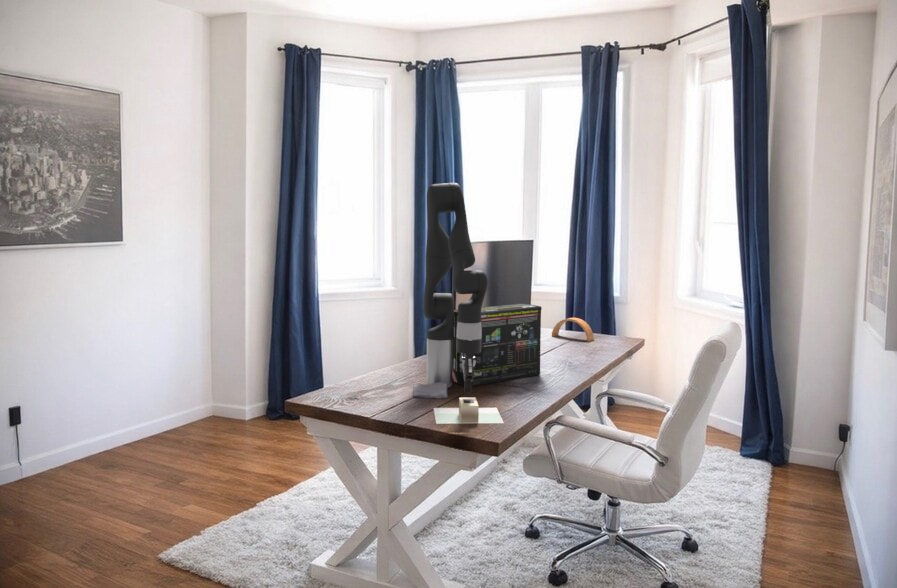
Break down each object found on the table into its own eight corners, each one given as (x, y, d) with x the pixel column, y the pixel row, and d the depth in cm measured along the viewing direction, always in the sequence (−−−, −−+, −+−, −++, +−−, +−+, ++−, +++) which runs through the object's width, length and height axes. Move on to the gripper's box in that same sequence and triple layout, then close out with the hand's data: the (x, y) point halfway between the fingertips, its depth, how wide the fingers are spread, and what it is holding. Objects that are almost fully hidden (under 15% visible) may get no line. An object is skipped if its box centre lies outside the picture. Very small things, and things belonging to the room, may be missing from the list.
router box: (522, 369, 281) (524, 302, 278) (541, 375, 272) (544, 306, 269) (448, 381, 261) (449, 309, 257) (466, 388, 252) (467, 313, 248)
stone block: (448, 405, 236) (447, 391, 246) (448, 392, 235) (447, 379, 244) (412, 406, 236) (412, 393, 245) (412, 393, 234) (412, 380, 244)
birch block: (459, 397, 218) (461, 405, 209) (475, 397, 219) (478, 405, 210) (458, 413, 219) (461, 422, 210) (475, 413, 219) (478, 422, 210)
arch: (588, 342, 340) (589, 321, 339) (551, 336, 352) (552, 316, 351) (593, 340, 345) (594, 319, 344) (557, 335, 357) (557, 315, 355)
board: (433, 409, 224) (433, 407, 224) (496, 409, 226) (496, 407, 226) (436, 425, 209) (436, 423, 209) (504, 425, 210) (504, 423, 210)
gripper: (454, 332, 221) (453, 386, 223) (458, 340, 208) (457, 398, 210) (478, 332, 221) (477, 386, 224) (484, 340, 208) (482, 398, 211)
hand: (467, 392), depth 217 cm, fingers closed
